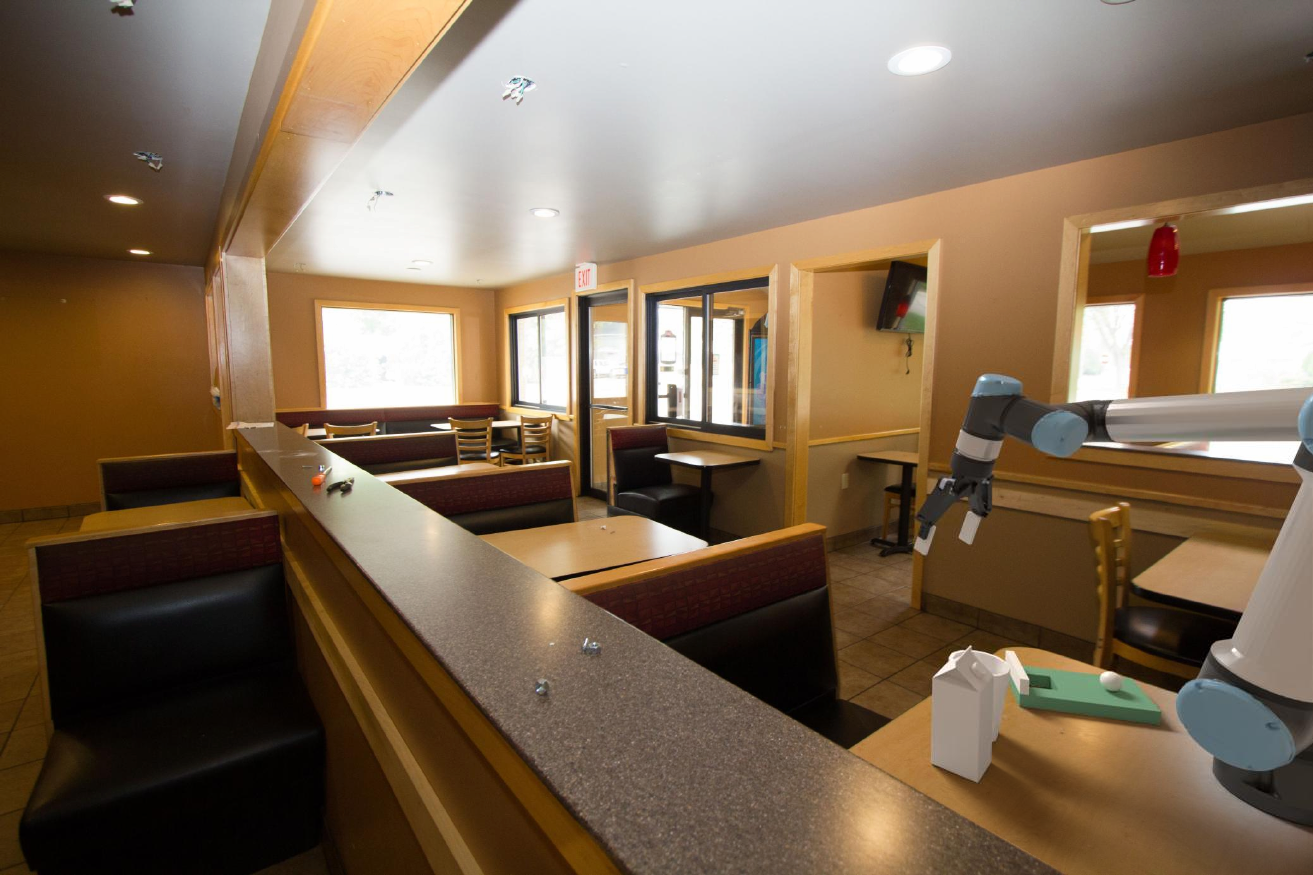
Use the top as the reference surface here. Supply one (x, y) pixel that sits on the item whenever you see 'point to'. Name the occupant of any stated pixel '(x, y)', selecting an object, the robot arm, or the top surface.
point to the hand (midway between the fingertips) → (943, 546)
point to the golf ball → (1111, 681)
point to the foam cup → (1000, 683)
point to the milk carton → (962, 717)
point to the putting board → (1079, 693)
